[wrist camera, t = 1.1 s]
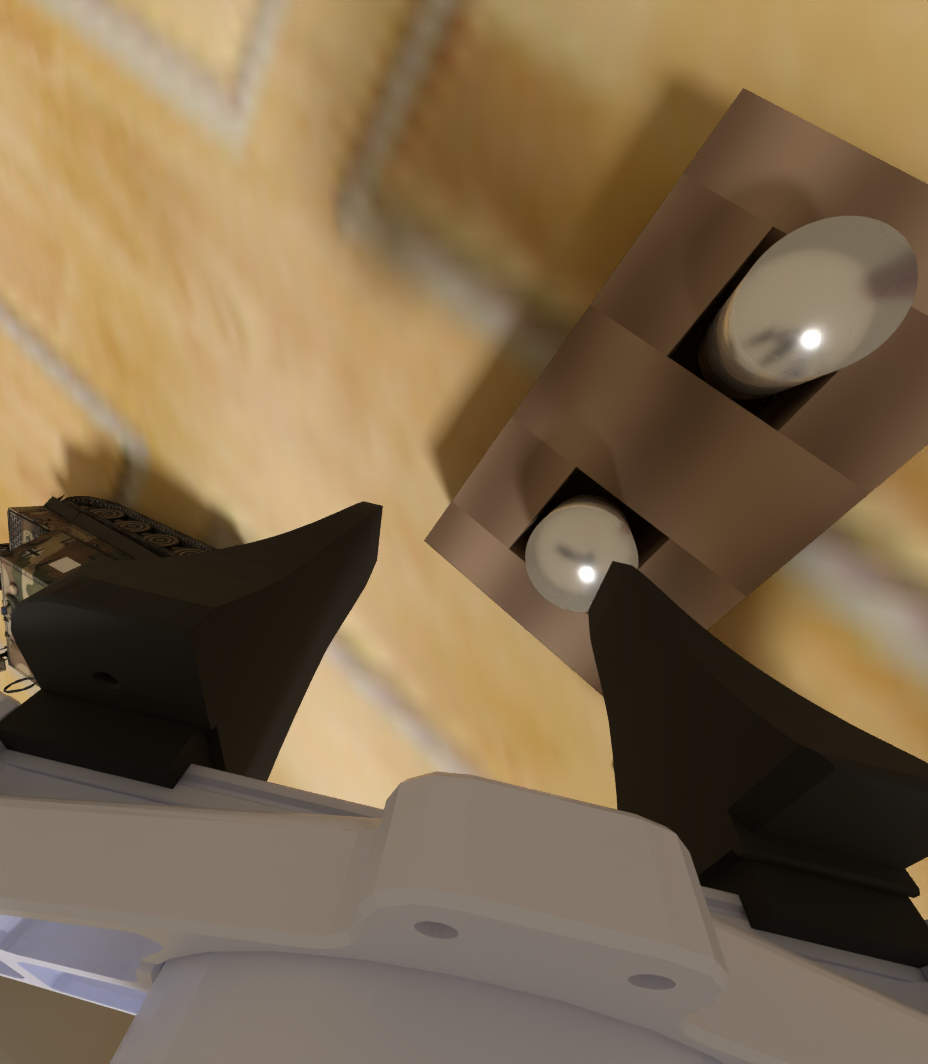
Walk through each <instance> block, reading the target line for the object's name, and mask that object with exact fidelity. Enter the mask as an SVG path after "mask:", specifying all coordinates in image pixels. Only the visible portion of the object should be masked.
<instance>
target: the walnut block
mask: <svg viewBox="0 0 928 1064" xmlns="http://www.w3.org/2000/svg"><path fill="white" fill-rule="evenodd" d="M838 216H862V217H869V218H873V219H876V220H879V221H882V222H884V223H886V224H888V225H890V226H892V227H893V228H895V229H896V230H898V231H899V232H900V233H901V234H902V235H903V236H904V237H905V239H906V240H907V241H908V243H909V244H910V246H911V248H912V250H913V252H914V254H915V258H916V262H917V267H918V281H917V289H916V292H915V296H914V299H913V302H912V304H911V307H910V309H909V311H908V313H907V314H906V316H905V318H904V320H903V321H902V322H901V324H900V325H899V326H898V328H897V329H896V330H895V332H894V333H893V334H892V335H891V336H890V337H889V338H888V339H887V340H886V341H885V342H884V343H883V344H881V345H880V346H879V347H878V348H877V349H875V350H874V351H873V352H871V353H870V354H869V355H867V356H865V357H864V358H862V359H860V360H859V361H857V362H855V363H853V364H851V365H848V366H846V367H844V368H841V369H839V370H836V371H834V372H831V373H828V374H826V375H823V376H821V377H818V378H815V379H813V380H810V381H807V382H805V383H802V384H800V385H797V386H794V387H792V388H789V389H786V390H784V391H781V392H779V393H778V394H777V395H776V396H775V397H774V398H773V399H772V400H771V401H770V402H769V403H768V404H767V405H766V406H765V407H764V409H763V410H762V411H761V412H760V413H759V414H758V415H757V416H755V415H753V414H752V413H750V412H749V411H747V410H746V409H744V408H743V407H741V406H740V405H738V404H737V403H735V402H734V401H732V400H731V399H729V398H728V397H726V396H725V395H723V394H722V393H721V392H719V391H718V390H716V389H715V388H713V387H712V386H710V385H709V384H707V383H706V382H704V381H703V380H701V379H700V378H698V377H697V376H695V375H694V374H692V373H691V372H689V371H688V370H686V369H685V368H683V367H682V366H680V365H679V364H678V363H676V362H675V361H673V360H672V359H670V358H671V357H672V356H673V355H674V354H675V352H676V351H677V350H678V349H679V348H680V346H681V345H682V344H683V343H684V341H685V340H686V339H687V338H688V337H689V335H690V334H691V333H692V332H693V331H694V329H695V328H696V327H697V326H698V324H699V323H700V322H701V321H702V320H703V318H704V317H705V316H706V315H707V314H708V312H709V311H710V310H711V309H712V308H713V306H714V305H715V304H716V303H717V301H718V300H719V299H720V298H721V297H722V295H723V294H724V293H725V292H726V291H727V289H728V288H731V289H732V290H735V289H736V288H737V286H738V285H739V284H740V282H741V281H742V280H743V278H744V277H745V276H746V275H747V273H748V272H749V271H750V269H751V268H752V267H753V265H754V264H755V263H756V261H757V260H758V259H759V258H760V257H761V256H762V255H763V254H764V253H765V252H766V251H767V250H768V249H769V248H770V247H771V246H773V245H774V244H775V243H776V242H778V241H779V240H780V239H782V238H783V237H785V236H786V235H788V234H790V233H791V232H793V231H795V230H797V229H799V228H801V227H803V226H805V225H807V224H810V223H813V222H816V221H819V220H822V219H827V218H831V217H838ZM926 445H928V184H926V183H924V182H922V181H920V180H918V179H916V178H914V177H912V176H911V175H909V174H907V173H905V172H903V171H901V170H899V169H897V168H895V167H893V166H891V165H890V164H888V163H886V162H884V161H882V160H880V159H878V158H876V157H874V156H872V155H870V154H868V153H867V152H865V151H863V150H861V149H859V148H857V147H855V146H853V145H851V144H849V143H847V142H846V141H844V140H842V139H840V138H838V137H836V136H834V135H832V134H830V133H828V132H826V131H824V130H823V129H821V128H819V127H817V126H815V125H813V124H811V123H809V122H807V121H805V120H803V119H801V118H800V117H798V116H796V115H794V114H792V113H790V112H788V111H786V110H784V109H782V108H780V107H779V106H777V105H775V104H773V103H771V102H769V101H767V100H765V99H763V98H761V97H759V96H757V95H756V94H754V93H752V92H750V91H748V90H746V89H744V88H743V89H742V91H741V92H740V94H739V95H738V96H737V98H736V99H735V101H734V102H733V103H732V105H731V106H730V108H729V109H728V111H727V112H726V113H725V115H724V116H723V118H722V119H721V120H720V122H719V123H718V125H717V126H716V128H715V129H714V130H713V132H712V133H711V135H710V136H709V137H708V139H707V140H706V142H705V143H704V145H703V146H702V147H701V149H700V150H699V152H698V153H697V154H696V156H695V157H694V159H693V160H692V162H691V163H690V164H689V166H688V167H687V169H686V170H685V171H684V173H683V174H682V176H681V177H680V179H679V180H678V181H677V183H676V184H675V186H674V187H673V188H672V190H671V191H670V193H669V194H668V196H667V197H666V198H665V200H664V201H663V203H662V204H661V206H660V207H659V208H658V210H657V211H656V213H655V214H654V215H653V217H652V218H651V220H650V221H649V223H648V224H647V225H646V227H645V228H644V230H643V231H642V232H641V234H640V235H639V237H638V238H637V240H636V241H635V242H634V244H633V245H632V247H631V248H630V249H629V251H628V252H627V254H626V255H625V257H624V258H623V259H622V261H621V262H620V264H619V265H618V266H617V268H616V269H615V271H614V272H613V274H612V275H611V276H610V278H609V279H608V281H607V282H606V283H605V285H604V286H603V288H602V289H601V291H600V292H599V293H598V295H597V296H596V298H595V299H594V300H593V302H592V303H591V305H590V306H589V308H588V309H587V310H586V312H585V313H584V315H583V316H582V317H581V319H580V320H579V322H578V323H577V325H576V326H575V327H574V329H573V330H572V332H571V333H570V334H569V336H568V337H567V339H566V340H565V342H564V343H563V344H562V346H561V347H560V349H559V350H558V352H557V353H556V354H555V356H554V357H553V359H552V360H551V361H550V363H549V364H548V366H547V367H546V369H545V370H544V371H543V373H542V374H541V376H540V377H539V378H538V380H537V381H536V383H535V384H534V386H533V387H532V388H531V390H530V391H529V393H528V394H527V395H526V397H525V398H524V400H523V401H522V403H521V404H520V405H519V407H518V408H517V410H516V411H515V412H514V414H513V415H512V417H511V418H510V420H509V421H508V422H507V424H506V425H505V427H504V428H503V429H502V431H501V432H500V434H499V435H498V437H497V438H496V439H495V441H494V442H493V444H492V445H491V446H490V448H489V449H488V451H487V452H486V454H485V455H484V456H483V458H482V459H481V461H480V462H479V463H478V465H477V466H476V468H475V469H474V471H473V472H472V473H471V475H470V476H469V478H468V479H467V480H466V482H465V483H464V485H463V486H462V488H461V489H460V490H459V492H458V493H457V495H456V496H455V498H454V499H453V500H452V502H451V503H450V505H449V506H448V507H447V509H446V510H445V512H444V513H443V515H442V516H441V517H440V519H439V520H438V522H437V523H436V524H435V526H434V527H433V529H432V530H431V532H430V533H429V534H428V536H427V537H426V539H425V540H424V541H425V542H426V543H427V544H428V545H430V546H431V547H432V548H433V549H434V550H435V551H437V552H438V553H439V554H440V555H441V556H442V557H443V558H445V559H446V560H447V561H448V562H449V563H450V564H451V565H453V566H454V567H455V568H456V569H457V570H458V571H460V572H461V573H462V574H463V575H464V576H465V577H466V578H468V579H469V580H470V581H471V582H472V583H473V584H474V585H476V586H477V587H478V588H479V589H480V590H481V591H483V592H484V593H485V594H486V595H487V596H488V597H489V598H491V599H492V600H493V601H494V602H495V603H496V604H497V605H499V606H500V607H501V608H502V609H503V610H504V611H506V612H507V613H508V614H509V615H510V616H511V617H512V618H514V619H515V620H516V621H517V622H518V623H519V624H520V625H522V626H523V627H524V628H525V629H526V630H527V631H529V632H530V633H531V634H532V635H533V636H534V637H535V638H537V639H538V640H539V641H540V642H541V643H542V644H543V645H545V646H546V647H547V648H548V649H549V650H550V651H551V652H553V653H554V654H555V655H556V656H557V657H558V658H560V659H561V660H562V661H563V662H564V663H565V664H566V665H568V666H569V667H570V668H571V669H572V670H573V671H574V672H576V673H577V674H578V675H579V676H580V677H581V678H583V679H584V680H585V681H586V682H587V683H588V684H589V685H591V686H592V687H593V688H594V689H595V690H596V691H597V692H599V693H600V694H601V695H602V696H603V692H602V688H601V684H600V679H599V675H598V671H597V667H596V663H595V658H594V654H593V650H592V645H591V640H590V631H589V617H588V612H575V611H570V610H566V609H563V608H561V607H558V606H556V605H554V604H553V603H551V602H549V601H548V600H547V599H545V598H544V597H543V596H542V595H541V594H540V593H539V592H538V591H537V589H536V588H535V587H534V585H533V583H532V582H531V580H530V578H529V575H528V572H527V568H526V563H525V553H526V547H527V543H528V540H529V537H530V536H531V534H532V533H531V532H530V531H529V529H530V528H531V527H532V526H533V524H534V523H535V522H536V521H537V520H538V518H539V517H540V516H541V515H542V514H543V512H544V511H545V510H546V509H547V507H548V506H549V505H550V504H551V503H552V501H553V500H554V499H555V498H556V497H557V495H558V494H559V493H560V492H561V491H562V489H563V488H564V487H565V486H566V484H567V483H568V482H569V481H570V480H571V478H572V477H573V476H574V475H575V474H576V472H577V471H578V470H579V469H580V470H581V471H582V472H584V473H585V474H586V475H588V476H589V477H590V478H592V479H593V480H594V481H596V482H597V483H598V484H600V485H601V486H602V487H603V488H605V489H606V490H607V491H609V492H610V493H611V494H613V495H614V496H615V497H617V498H618V499H619V500H620V501H622V502H623V503H624V504H626V505H627V506H628V507H630V508H631V509H632V510H634V511H635V512H636V513H638V514H639V515H640V516H641V517H643V518H644V519H645V520H647V521H648V522H649V523H651V525H650V526H649V527H648V528H647V529H646V530H645V531H644V532H643V533H642V534H641V535H640V536H639V538H638V539H637V540H636V541H635V545H636V548H637V552H638V570H639V571H640V572H642V573H643V574H644V575H645V576H646V577H647V578H648V579H650V580H651V581H652V582H653V583H654V584H655V585H656V586H657V587H658V588H659V589H661V590H662V591H663V592H664V593H665V594H666V595H667V596H668V597H669V598H670V599H671V600H673V601H674V602H675V603H676V604H677V605H678V606H679V607H680V608H681V609H682V610H684V611H685V612H686V613H687V614H688V615H689V616H690V617H692V618H693V619H694V620H695V621H696V622H697V623H699V624H700V625H701V626H702V627H703V628H705V629H706V630H707V629H709V628H710V627H711V626H712V625H713V624H715V623H716V622H717V621H718V620H719V619H720V618H722V617H723V616H724V615H725V614H726V613H728V612H729V611H730V610H731V609H732V608H734V607H735V606H736V605H737V604H738V603H739V602H741V601H742V600H743V599H744V598H745V597H747V596H748V595H749V594H750V593H751V592H753V591H754V590H755V589H756V588H757V587H759V586H760V585H761V584H762V583H763V582H764V581H766V580H767V579H768V578H769V577H770V576H772V575H773V574H774V573H775V572H776V571H778V570H779V569H780V568H781V567H782V566H784V565H785V564H786V563H787V562H788V561H789V560H791V559H792V558H793V557H794V556H795V555H797V554H798V553H799V552H800V551H801V550H803V549H804V548H805V547H806V546H807V545H809V544H810V543H811V542H812V541H813V540H814V539H816V538H817V537H818V536H819V535H820V534H822V533H823V532H824V531H825V530H826V529H828V528H829V527H830V526H831V525H832V524H834V523H835V522H836V521H837V520H838V519H839V518H841V517H842V516H843V515H844V514H845V513H847V512H848V511H849V510H850V509H851V508H853V507H854V506H855V505H856V504H857V503H859V502H860V501H861V500H862V499H863V498H864V497H866V496H867V495H868V494H869V493H870V492H872V491H873V490H874V489H875V488H876V487H878V486H879V485H880V484H881V483H882V482H884V481H885V480H886V479H887V478H888V477H889V476H891V475H892V474H893V473H894V472H895V471H897V470H898V469H899V468H900V467H901V466H903V465H904V464H905V463H906V462H907V461H909V460H910V459H911V458H912V457H913V456H914V455H916V454H917V453H918V452H919V451H920V450H922V449H923V448H924V447H925V446H926ZM603 697H604V696H603Z"/></svg>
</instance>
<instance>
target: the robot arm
mask: <svg viewBox="0 0 928 1064" xmlns="http://www.w3.org/2000/svg"><path fill="white" fill-rule="evenodd" d="M382 508H383V506H381V505H377V504H372V503H368V502H364V501H363V502H360V503H357V504H355V505H353V506H350V507H348V508H346V509H344V510H341V511H339V512H337V513H335V514H332V515H330V516H328V517H325V518H323V519H321V520H318V521H316V522H313V523H311V524H308V525H305V526H303V527H300V528H297V529H295V530H292V531H289V532H287V533H284V534H280V535H277V536H274V537H271V538H267V539H263V540H260V541H256V542H252V543H248V544H243V545H238V546H233V547H228V548H223V549H218V550H213V551H208V552H202V553H195V554H188V555H180V556H171V557H162V558H152V559H137V560H121V561H105V562H88V563H86V564H84V565H82V566H81V567H79V568H77V569H76V570H74V571H72V572H70V573H69V574H67V575H65V576H63V577H62V578H60V579H58V580H57V581H55V582H53V583H51V584H50V585H48V586H46V587H44V588H43V589H41V590H39V591H38V592H36V593H34V594H32V595H31V596H29V597H27V598H25V599H24V600H22V601H20V602H19V603H17V605H16V606H15V608H14V609H13V611H12V613H11V632H12V635H13V637H14V640H15V643H16V645H17V646H18V648H19V650H20V652H21V654H22V655H23V657H24V659H25V661H26V663H27V665H28V666H29V668H30V670H31V672H32V674H33V675H34V677H35V679H36V681H37V683H38V684H39V686H40V688H41V690H39V691H38V692H37V693H35V694H34V695H33V696H32V697H30V698H29V699H28V700H27V701H25V702H24V703H23V704H21V703H20V702H18V701H17V700H15V699H14V698H12V697H11V696H8V695H6V694H3V693H0V975H1V976H4V977H8V978H11V979H14V980H18V981H21V982H24V983H28V984H31V985H35V986H38V987H41V988H45V989H48V990H51V991H55V992H58V993H62V994H65V995H69V996H72V997H75V998H78V999H82V1000H86V1001H89V1002H92V1003H96V1004H99V1005H102V1006H106V1007H109V1008H112V1009H116V1010H119V1011H122V1012H126V1013H129V1014H133V1015H136V1016H135V1018H134V1020H133V1022H132V1024H131V1026H130V1027H129V1029H128V1031H127V1033H126V1035H125V1037H124V1039H123V1040H122V1042H121V1044H120V1046H119V1048H118V1049H117V1051H116V1054H115V1055H114V1057H113V1059H112V1060H111V1062H110V1064H928V920H924V919H923V918H922V916H921V915H920V913H919V912H918V910H917V909H916V907H915V906H914V905H913V903H912V902H911V900H910V899H909V897H912V898H915V897H917V896H919V895H920V891H919V888H918V886H917V885H916V884H915V882H914V881H913V879H912V878H911V877H910V875H909V874H908V872H907V871H906V869H905V868H907V867H909V866H911V865H913V864H915V863H917V862H919V861H920V860H922V859H924V858H926V857H928V763H926V762H925V761H923V760H921V759H919V758H917V757H915V756H913V755H911V754H909V753H907V752H905V751H903V750H901V749H899V748H897V747H895V746H893V745H891V744H889V743H887V742H885V741H883V740H881V739H879V738H877V737H875V736H873V735H871V734H869V733H867V732H865V731H863V730H861V729H859V728H857V727H855V726H853V725H851V724H850V723H848V722H846V721H844V720H842V719H841V718H839V717H837V716H835V715H833V714H832V713H830V712H828V711H826V710H824V709H823V708H821V707H819V706H817V705H816V704H814V703H812V702H810V701H809V700H807V699H805V698H804V697H802V696H800V695H799V694H797V693H795V692H794V691H792V690H790V689H789V688H787V687H786V686H784V685H783V684H781V683H779V682H778V681H776V680H775V679H773V678H772V677H770V676H768V675H767V674H765V673H764V672H762V671H761V670H759V669H758V668H756V667H755V666H754V665H752V664H751V663H749V662H748V661H746V660H745V659H744V658H742V657H741V656H740V655H738V654H737V653H735V652H734V651H733V650H731V649H730V648H729V647H727V646H726V645H725V644H723V643H722V642H721V641H719V640H718V639H717V638H716V637H714V636H713V635H712V634H711V633H709V632H708V631H707V630H706V629H705V628H703V627H702V626H701V625H700V624H699V623H697V622H696V621H695V620H694V619H693V618H692V617H690V616H689V615H688V614H687V613H686V612H685V611H684V610H682V609H681V608H680V607H679V606H678V605H677V604H676V603H675V602H674V601H673V600H671V599H670V598H669V597H668V596H667V595H666V594H665V593H664V592H663V591H662V590H661V589H659V588H658V587H657V586H656V585H655V584H654V583H653V582H652V581H651V580H650V579H648V578H647V577H646V576H645V575H644V574H643V573H642V572H640V571H639V570H638V569H637V568H635V567H634V566H632V565H628V564H624V563H620V562H616V561H612V563H611V565H610V567H609V569H608V571H607V573H606V575H605V577H604V579H603V581H602V583H601V585H600V587H599V589H598V592H597V594H596V596H595V598H594V600H593V602H592V604H591V606H590V608H589V610H588V617H589V631H590V640H591V645H592V650H593V654H594V658H595V663H596V667H597V671H598V675H599V679H600V684H601V688H602V692H603V696H604V700H605V705H606V710H607V715H608V720H609V727H610V736H611V744H612V752H613V761H614V772H615V782H616V794H617V809H618V810H616V809H612V808H608V807H604V806H599V805H595V804H591V803H587V802H583V801H578V800H574V799H570V798H566V797H562V796H558V795H553V794H549V793H545V792H541V791H537V790H533V789H528V788H524V787H520V786H516V785H512V784H508V783H503V782H499V781H495V780H491V779H487V778H483V777H478V776H474V775H468V774H457V773H445V772H433V773H429V774H425V775H421V776H417V777H414V778H410V779H407V780H405V781H404V782H402V783H400V784H399V786H398V787H397V788H396V789H395V790H394V792H393V793H392V794H391V795H390V796H389V798H388V799H387V801H386V804H385V808H384V810H383V809H379V808H374V807H370V806H366V805H362V804H358V803H354V802H349V801H345V800H341V799H337V798H333V797H329V796H324V795H320V794H316V793H312V792H308V791H304V790H299V789H295V788H291V787H287V786H283V785H279V784H274V783H270V782H267V780H268V778H269V775H270V773H271V770H272V768H273V766H274V763H275V761H276V758H277V756H278V754H279V751H280V749H281V747H282V744H283V742H284V740H285V738H286V735H287V733H288V731H289V728H290V726H291V724H292V722H293V719H294V717H295V715H296V713H297V710H298V708H299V706H300V704H301V702H302V700H303V697H304V695H305V693H306V691H307V689H308V687H309V684H310V682H311V680H312V678H313V676H314V674H315V672H316V670H317V668H318V666H319V664H320V662H321V660H322V657H323V655H324V653H325V652H326V650H327V648H328V646H329V644H330V643H331V641H332V639H333V638H334V636H335V634H336V633H337V631H338V630H339V628H340V626H341V625H342V623H343V622H344V620H345V619H346V617H347V615H348V614H349V612H350V611H351V609H352V607H353V606H354V604H355V603H356V601H357V599H358V598H359V596H360V594H361V593H362V591H363V589H364V588H365V586H366V584H367V582H368V580H369V577H370V575H371V573H372V571H373V568H374V566H375V564H376V561H377V555H378V546H379V536H380V527H381V517H382Z"/></svg>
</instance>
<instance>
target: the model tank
mask: <svg viewBox="0 0 928 1064" xmlns="http://www.w3.org/2000/svg"><path fill="white" fill-rule="evenodd" d="M63 496H64V495H63ZM63 496H61V497H59V498H58V499H57V498H55V497H53V496H52V498H51V499H50V500H49V501H48V502H47V503H46V504H45V505H44V506H32V507H12V508H8V511H7V515H8V529H9V542H10V543H4V544H0V590H2V595H3V600H2V603H3V607H1V614H2V615H4V619H3V620H4V621H5V629H6V632H5V633H6V634H5V636H6V640H7V646H5V647H4V648H2V649H6V648H7V651H5V653H2V654H0V672H1V671H5V670H6V665H5V660H7V659H8V663H9V665H10V666H11V667H13V668H14V669H16V670H17V671H18V672H20V673H21V674H22V675H24V676H25V677H26V678H23V679H20V680H17V681H15V682H13V683H11V684H9V685H8V686H6V687H5V688H4V692H6V693H13V692H19V691H23V690H26V689H29V688H31V687H33V686H34V685H35V684H36V685H37V686H39V684H38V683H37V681H36V679H35V677H34V675H33V674H32V672H31V670H30V668H29V666H28V665H27V663H26V661H25V659H24V657H23V655H22V654H21V652H20V650H19V648H18V646H17V645H16V643H15V640H14V637H13V635H12V632H11V613H12V611H13V609H14V608H15V606H16V605H17V603H19V602H20V601H22V600H24V599H25V598H27V597H29V596H31V595H32V594H34V593H36V592H38V591H39V590H41V589H43V588H44V587H46V586H48V585H50V584H51V583H53V582H55V581H57V580H58V579H60V578H62V577H63V576H65V575H67V574H69V573H70V572H72V571H74V570H76V569H77V568H79V567H81V566H82V565H84V564H86V563H88V562H105V561H121V560H137V559H152V558H162V557H171V556H180V555H188V554H195V553H202V552H208V551H213V550H217V549H215V548H213V547H211V546H208V545H206V544H204V543H202V542H200V541H198V540H195V539H193V538H191V537H189V536H187V535H185V534H182V533H180V532H178V531H176V530H174V529H172V528H169V527H167V526H165V525H163V524H161V523H159V522H156V521H154V520H152V519H150V518H148V517H146V516H143V515H141V514H139V513H137V512H135V511H133V510H130V509H128V508H126V507H124V506H122V505H119V504H116V503H113V502H109V501H106V500H102V499H98V498H93V497H89V496H75V497H68V498H65V499H64V500H62V501H60V500H61V499H62V498H63ZM2 649H0V650H2ZM4 656H6V657H7V659H4V658H2V657H4ZM27 679H29V680H31V681H32V682H33V683H34V684H32V685H30V686H28V687H25V688H23V689H17V690H10V691H6V689H7V688H9V687H10V686H11V685H12V684H15V683H18V682H21V681H24V680H27ZM39 687H40V686H39ZM1 693H2V692H1Z"/></svg>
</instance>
